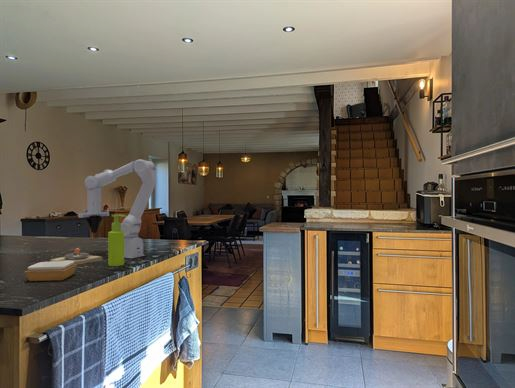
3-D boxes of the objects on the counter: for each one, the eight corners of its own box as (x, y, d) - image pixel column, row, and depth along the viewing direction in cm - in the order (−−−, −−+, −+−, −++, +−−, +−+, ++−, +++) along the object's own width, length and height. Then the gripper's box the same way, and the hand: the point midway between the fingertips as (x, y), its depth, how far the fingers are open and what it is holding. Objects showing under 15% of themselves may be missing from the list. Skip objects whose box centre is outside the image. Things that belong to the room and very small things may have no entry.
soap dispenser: (120, 266, 135) (120, 215, 135) (105, 265, 136) (105, 214, 136) (129, 263, 140) (129, 214, 140) (114, 262, 142) (114, 213, 142)
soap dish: (77, 274, 122) (77, 260, 122) (64, 281, 112) (64, 266, 112) (39, 275, 121) (39, 261, 121) (23, 282, 111) (23, 267, 111)
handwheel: (63, 256, 147) (63, 246, 147) (87, 254, 152) (87, 245, 152) (65, 260, 139) (65, 249, 139) (90, 258, 144) (90, 247, 144)
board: (102, 259, 148) (102, 256, 148) (71, 265, 136) (71, 262, 136) (81, 256, 155) (81, 253, 155) (50, 262, 142) (50, 258, 142)
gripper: (102, 202, 167) (102, 230, 167) (73, 203, 154) (73, 233, 154) (112, 202, 163) (112, 231, 163) (84, 203, 150) (84, 234, 150)
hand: (94, 232), depth 158 cm, fingers closed
